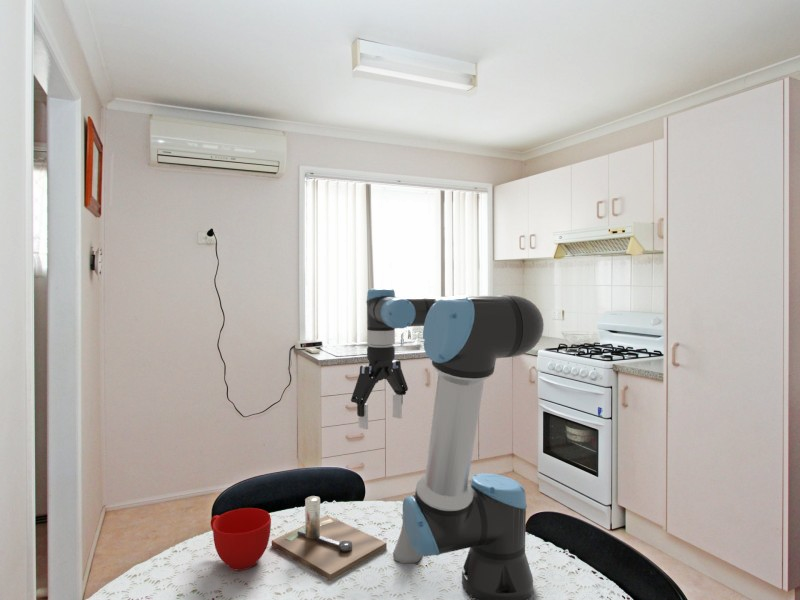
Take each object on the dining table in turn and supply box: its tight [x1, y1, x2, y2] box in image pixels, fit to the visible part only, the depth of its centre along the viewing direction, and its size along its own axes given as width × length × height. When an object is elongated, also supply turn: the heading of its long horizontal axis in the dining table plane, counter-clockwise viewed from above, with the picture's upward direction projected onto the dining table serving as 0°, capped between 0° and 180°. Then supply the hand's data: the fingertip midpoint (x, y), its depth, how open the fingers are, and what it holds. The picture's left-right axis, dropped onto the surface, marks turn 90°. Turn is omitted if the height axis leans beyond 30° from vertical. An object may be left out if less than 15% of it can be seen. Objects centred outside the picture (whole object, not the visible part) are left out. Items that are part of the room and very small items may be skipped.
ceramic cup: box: [210, 507, 272, 571], centre depth 122 cm, size 13×17×10 cm
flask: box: [392, 513, 424, 564], centre depth 124 cm, size 7×7×10 cm
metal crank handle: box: [297, 495, 352, 552], centre depth 127 cm, size 16×4×10 cm, turn 60°
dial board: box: [271, 515, 387, 582], centre depth 128 cm, size 22×18×2 cm
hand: (380, 422), depth 142 cm, fingers open, 13 cm apart
